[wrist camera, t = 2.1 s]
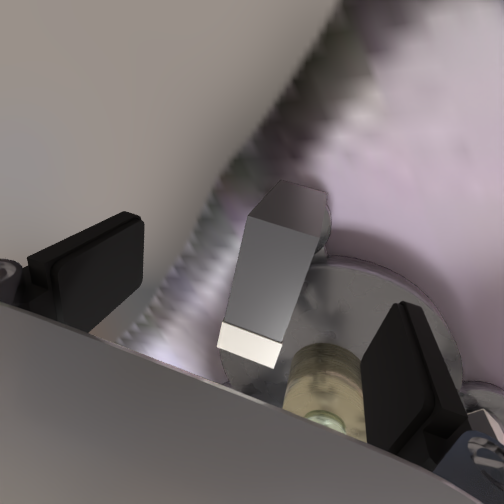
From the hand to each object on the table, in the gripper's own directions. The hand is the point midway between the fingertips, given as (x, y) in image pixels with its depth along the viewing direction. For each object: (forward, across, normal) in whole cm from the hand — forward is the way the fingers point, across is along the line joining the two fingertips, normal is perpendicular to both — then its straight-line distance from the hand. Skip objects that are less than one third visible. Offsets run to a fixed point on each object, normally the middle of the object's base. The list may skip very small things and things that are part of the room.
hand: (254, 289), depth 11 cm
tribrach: (+9, -5, +7) cm, 12 cm away
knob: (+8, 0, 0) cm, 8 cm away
